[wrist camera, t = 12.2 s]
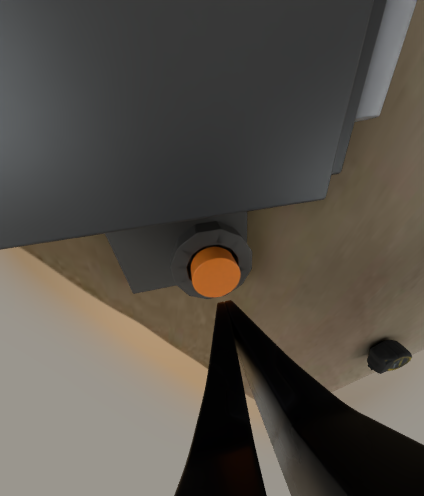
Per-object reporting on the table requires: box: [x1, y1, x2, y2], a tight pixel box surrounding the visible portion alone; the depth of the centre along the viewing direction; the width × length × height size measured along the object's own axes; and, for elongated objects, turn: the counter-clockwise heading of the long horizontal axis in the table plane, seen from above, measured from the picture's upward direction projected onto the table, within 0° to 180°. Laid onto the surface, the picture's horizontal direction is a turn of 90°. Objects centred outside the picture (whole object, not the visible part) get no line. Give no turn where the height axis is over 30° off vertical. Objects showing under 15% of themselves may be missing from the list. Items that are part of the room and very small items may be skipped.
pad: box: [105, 211, 252, 299], centre depth 13 cm, size 11×9×4 cm
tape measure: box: [367, 340, 412, 374], centre depth 33 cm, size 7×7×4 cm
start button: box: [191, 247, 241, 297], centre depth 12 cm, size 4×4×2 cm
